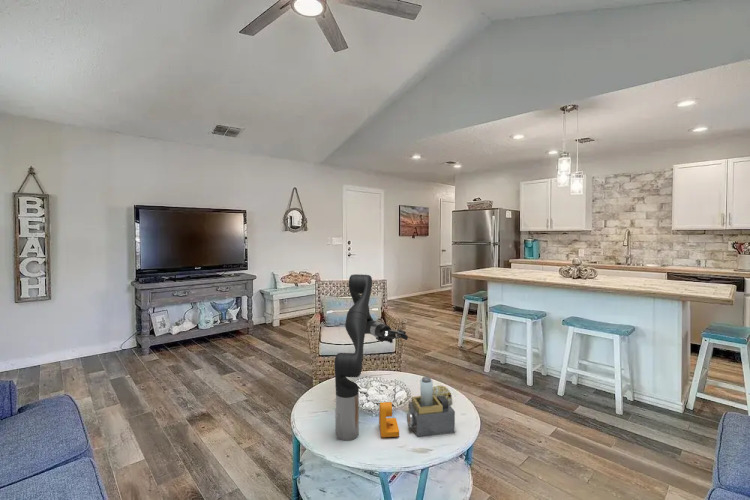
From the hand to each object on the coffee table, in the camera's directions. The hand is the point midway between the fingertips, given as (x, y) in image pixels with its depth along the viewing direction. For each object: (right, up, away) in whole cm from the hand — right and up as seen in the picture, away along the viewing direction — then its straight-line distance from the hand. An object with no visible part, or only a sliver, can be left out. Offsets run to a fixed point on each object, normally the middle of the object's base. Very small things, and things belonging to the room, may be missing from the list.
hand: (399, 339), depth 167 cm
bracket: (-6, -33, -19) cm, 39 cm away
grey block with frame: (+12, -33, -16) cm, 39 cm away
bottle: (+10, -24, -17) cm, 31 cm away
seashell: (+20, -32, +7) cm, 38 cm away
